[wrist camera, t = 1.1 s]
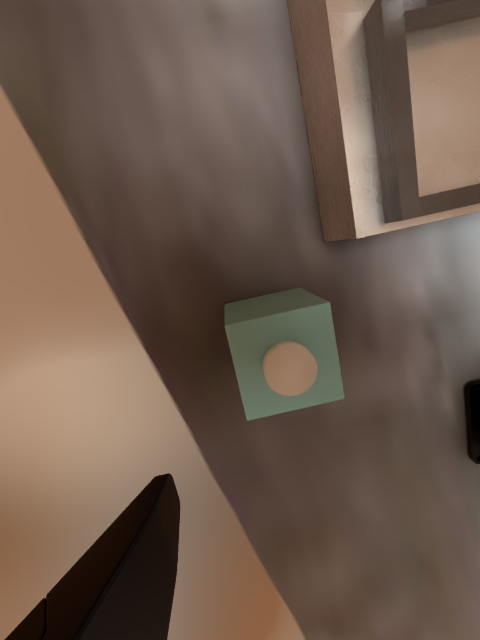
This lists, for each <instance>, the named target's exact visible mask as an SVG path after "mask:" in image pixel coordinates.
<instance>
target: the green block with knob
mask: <svg viewBox="0 0 480 640" xmlns="http://www.w3.org/2000/svg"><path fill="white" fill-rule="evenodd" d="M224 326H225V330H226V334H227V339H228V343H229V347H230V351H231V355H232V360H233V364H234V368H235V372H236V377H237V381H238V385H239V389H240V393H241V398H242V402H243V406H244V410H245V414H246V419H247V421H248V420H253V419H257V418H262V417H266V416H271V415H275V414H280V413H284V412H288V411H293V410H297V409H302V408H306V407H311V406H315V405H320V404H324V403H329V402H333V401H337V400H342V399H345V396H344V390H343V383H342V377H341V370H340V364H339V358H338V351H337V345H336V338H335V332H334V325H333V319H332V313H331V306H330V302H329V301H327V300H325V299H323V298H320V297H318V296H316V295H314V294H312V293H310V292H308V291H306V290H304V289H302V288H300V287H299V288H294V289H290V290H285V291H281V292H276V293H272V294H268V295H263V296H259V297H254V298H250V299H245V300H241V301H236V302H232V303H227V304H224Z"/></svg>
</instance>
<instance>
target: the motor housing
mask: <svg viewBox="0 0 480 640" xmlns="http://www.w3.org/2000/svg"><path fill="white" fill-rule="evenodd" d="M287 3H288V9H289V16H290V22H291V29H292V35H293V42H294V48H295V55H296V61H297V68H298V75H299V81H300V88H301V94H302V101H303V107H304V114H305V120H306V127H307V133H308V140H309V146H310V153H311V159H312V166H313V173H314V179H315V186H316V192H317V199H318V205H319V212H320V218H321V225H322V231H323V238H324V242H326V241H338V240H349V239H358V238H363V237H367V236H371V235H376V234H380V233H385V232H389V231H394V230H398V229H403V228H407V227H411V226H416V225H420V224H425V223H429V222H434V221H438V220H443V219H447V218H452V217H456V216H460V215H465V214H469V213H474V212H478V211H480V0H287Z"/></svg>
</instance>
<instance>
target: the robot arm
mask: <svg viewBox="0 0 480 640" xmlns="http://www.w3.org/2000/svg"><path fill="white" fill-rule="evenodd" d="M474 388H475V390H474ZM473 390H474V391H473ZM465 397H466V413H467V430H468V447H469V458H470V459H471V460H472V461H473V462H474V463H476V464H480V380H479V381H474V382H471V383H469V384H467V386H466V387H465ZM179 523H180V501H179V496H178V493H177V490H176V487H175V483H174V480H173V477H172V476H171V474H164V475H159V476H156V477H155V478H153V479H152V481H151V482H150V483H149V484H148V485H147V486H146V487H145V488H144V489H143V490H142V491H141V493H140V494H139V495H138V496H137V497H136V498H135V499H134V500H133V501H132V502H131V503H130V504H129V506H128V507H127V508H126V509H125V510H124V511H123V512H122V513H121V514H120V515H119V517H118V518H117V519H116V520H115V521H114V522H113V523H112V524H111V525H110V526H109V527H108V529H107V530H106V531H105V532H104V533H103V534H102V535H101V536H100V537H99V538H98V540H96V542H95V543H94V544H93V545H92V546H91V547H90V548H89V549H88V550H87V551H86V552H85V554H84V555H83V556H82V557H81V558H80V559H79V560H78V561H77V562H76V563H75V565H73V567H72V568H71V569H70V570H69V571H68V572H67V573H66V574H65V575H64V576H63V577H62V579H61V580H60V581H59V582H58V583H57V584H56V585H55V586H54V587H53V588H52V589H51V591H50V592H49V593H48V594H47V596H46V598H43V599H42V600H41V601H40V602H39V604H38V605H37V606H36V607H35V608H34V609H33V610H32V611H31V612H30V613H29V614H28V615H27V617H26V618H25V619H24V620H23V621H22V622H21V623H20V624H19V625H18V626H17V627H16V628H15V629H14V630H13V631H12V632H11V634H10V635H9V636H8V637H7V638H6V639H5V640H167V636H168V630H169V622H170V616H171V609H172V603H173V596H174V589H175V583H176V574H177V563H178V543H179Z"/></svg>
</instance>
